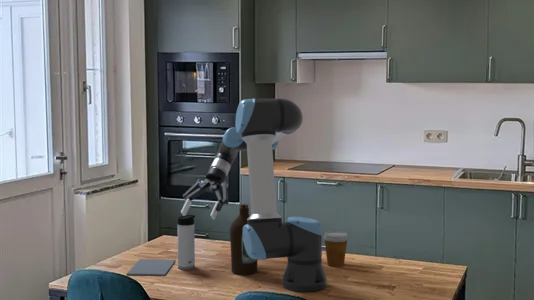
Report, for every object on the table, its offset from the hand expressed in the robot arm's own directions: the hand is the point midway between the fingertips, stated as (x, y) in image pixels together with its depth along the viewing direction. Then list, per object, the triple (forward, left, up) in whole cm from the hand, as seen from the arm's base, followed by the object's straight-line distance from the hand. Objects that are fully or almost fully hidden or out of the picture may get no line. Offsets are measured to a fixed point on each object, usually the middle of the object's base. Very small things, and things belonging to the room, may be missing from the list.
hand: (197, 215), depth 254 cm
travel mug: (-8, +3, -18) cm, 20 cm away
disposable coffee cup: (-1, -53, -18) cm, 56 cm away
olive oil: (-12, -19, -18) cm, 29 cm away
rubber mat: (-9, +16, -18) cm, 26 cm away
